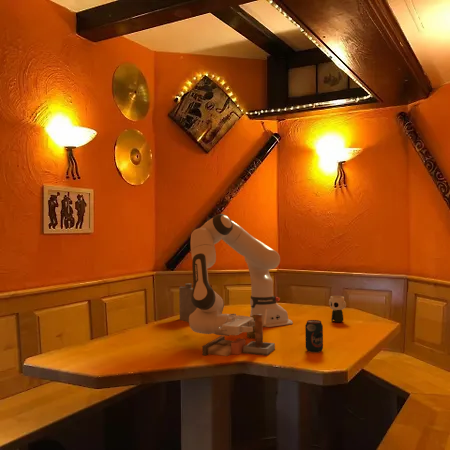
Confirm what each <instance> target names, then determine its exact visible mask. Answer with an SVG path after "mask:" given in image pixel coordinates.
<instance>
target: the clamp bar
mask: <svg viewBox="0 0 450 450" xmlns="http://www.w3.org/2000/svg"><path fill="white" fill-rule="evenodd" d="M221 340H226V339H225V335H219V337H217V338H214V339H212V340H210V341H209V342H207V343H205V344H203V345H202V346H201V347H202V349H201V350H202V356H207V355H209V354H208V348H209V347H211V346H212V345H214V344H216V343H218V342H220V341H221Z"/></svg>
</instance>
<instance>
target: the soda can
mask: <svg viewBox="0 0 450 450" xmlns="http://www.w3.org/2000/svg"><path fill="white" fill-rule="evenodd" d="M323 326H324V325H323V324H322V321H321V320H319V319H308V320H306V323H305V326H304V327H305V328H304V329H305V332H304V334H305V349H306V351H307V352H309V353H316V354H319V353H321V352H322V351H323V349H324V327H323Z"/></svg>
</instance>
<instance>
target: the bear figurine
mask: <svg viewBox="0 0 450 450" xmlns="http://www.w3.org/2000/svg"><path fill="white" fill-rule="evenodd" d="M328 305H329V307H330V309H331V310H332V311H331V322H334V323H341V322H344V314H343V313H344V312H343V310H344V309H345V308H346V307H347V301H345V296H342V295H331V296H330V297H329V299H328Z"/></svg>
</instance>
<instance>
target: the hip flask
mask: <svg viewBox="0 0 450 450" xmlns="http://www.w3.org/2000/svg"><path fill="white" fill-rule="evenodd" d="M192 286H193V283H190V282H189V283H184V286H179V289H178V291H179V293H178V294H179V321H182V322H186V323H189V316H190V314H192V313H193V312H194V311H195V310H196V309H197V307H195V306H194V305H193V303H192V301H191V293H192V289H193V287H192Z"/></svg>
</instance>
